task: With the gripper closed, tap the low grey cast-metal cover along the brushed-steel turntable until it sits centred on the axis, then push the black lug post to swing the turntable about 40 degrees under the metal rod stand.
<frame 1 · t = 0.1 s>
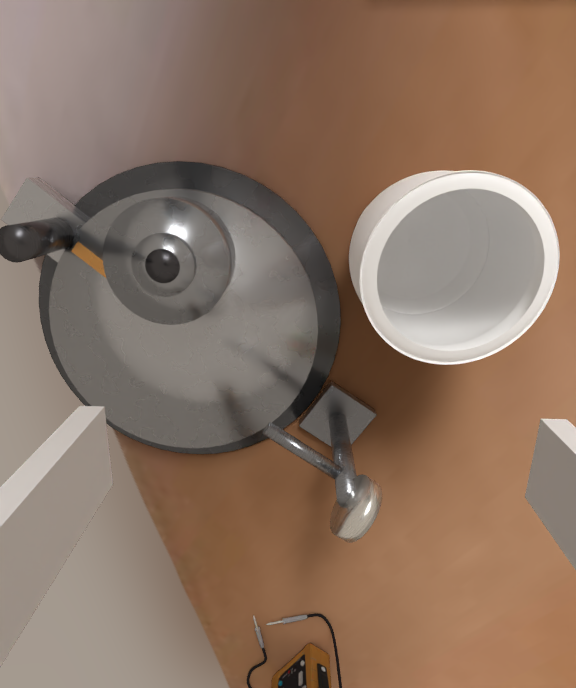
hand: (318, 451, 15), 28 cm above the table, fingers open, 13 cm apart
jar: (403, 239, 40), on the table
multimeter: (274, 646, 55), on the table
turntable base: (190, 320, 43), on the table
metal rod stand: (336, 415, 45), on the table
cover: (178, 256, 38), point 3 cm above the table, touching turntable
turntable: (160, 332, 38), point 5 cm above the table, hinge at 0.0°, touching cover
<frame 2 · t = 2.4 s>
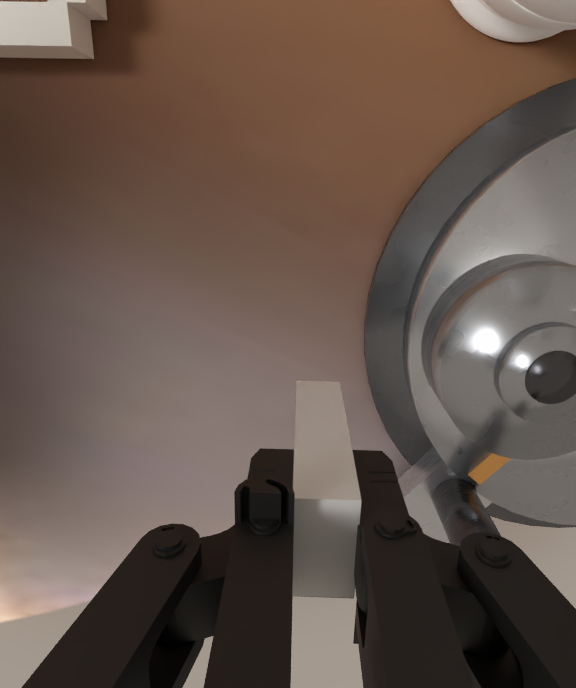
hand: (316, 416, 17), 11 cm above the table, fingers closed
cover: (510, 343, 25), point 3 cm above the table, touching turntable
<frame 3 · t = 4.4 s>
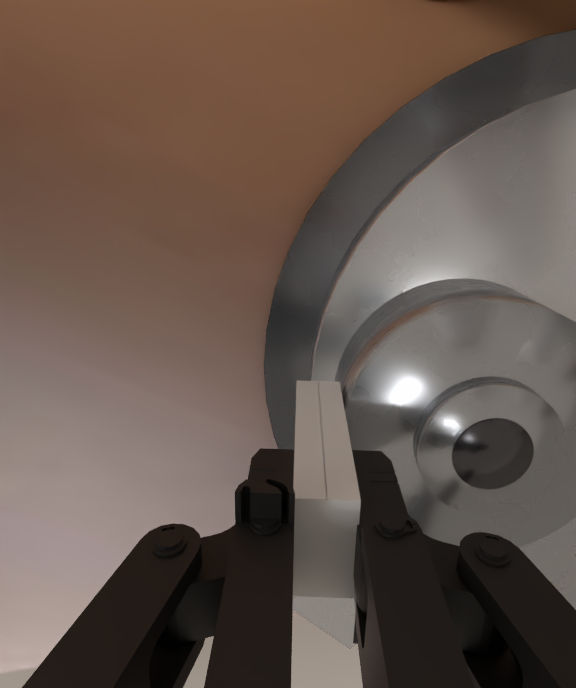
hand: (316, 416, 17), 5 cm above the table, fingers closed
turntable base: (560, 369, 22), on the table
cover: (449, 393, 19), point 3 cm above the table, touching gripper, turntable
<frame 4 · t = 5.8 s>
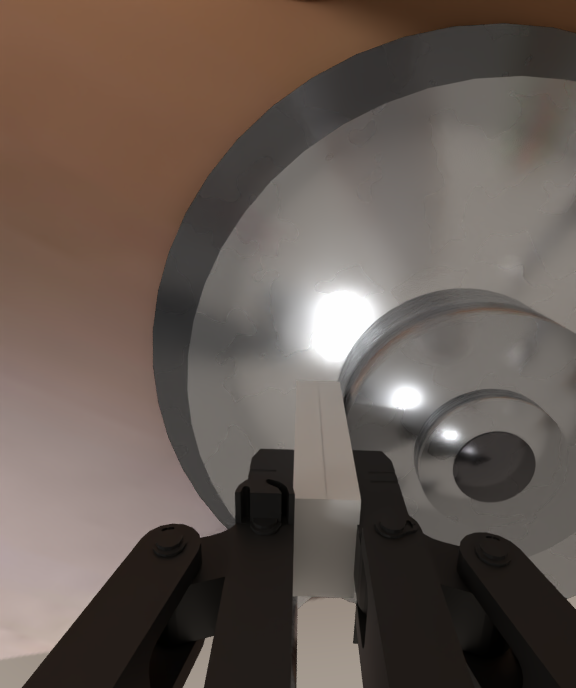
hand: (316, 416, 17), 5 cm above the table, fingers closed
turntable base: (452, 371, 21), on the table
cover: (451, 403, 19), point 3 cm above the table, touching turntable
turntable: (476, 456, 17), point 5 cm above the table, hinge at 0.0°, touching cover
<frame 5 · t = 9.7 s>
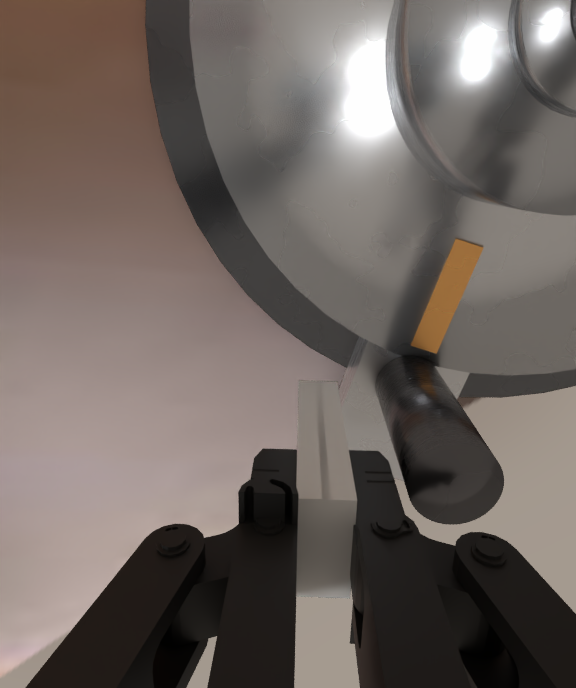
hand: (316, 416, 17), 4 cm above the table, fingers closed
turntable base: (522, 51, 17), on the table
cover: (536, 49, 15), point 3 cm above the table, touching turntable
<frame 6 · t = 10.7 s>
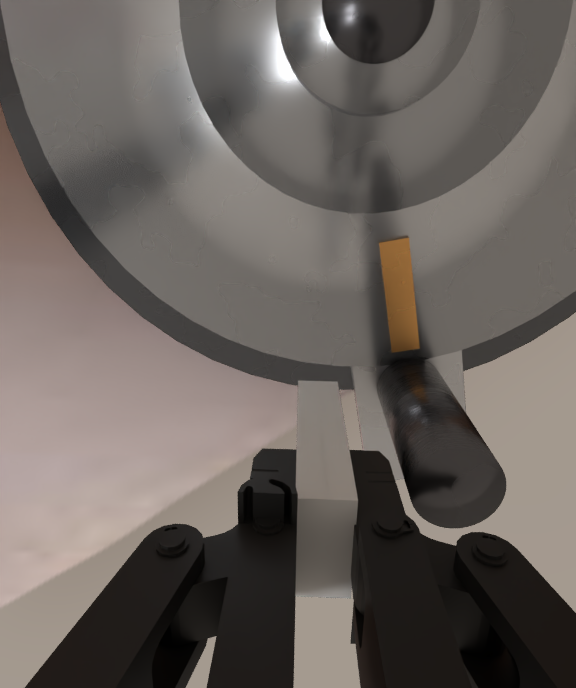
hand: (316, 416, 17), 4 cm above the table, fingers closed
turntable base: (360, 42, 17), on the table
cover: (357, 48, 15), point 3 cm above the table, touching turntable
turntable: (405, 46, 13), point 5 cm above the table, hinge at 30.9°, touching cover, gripper
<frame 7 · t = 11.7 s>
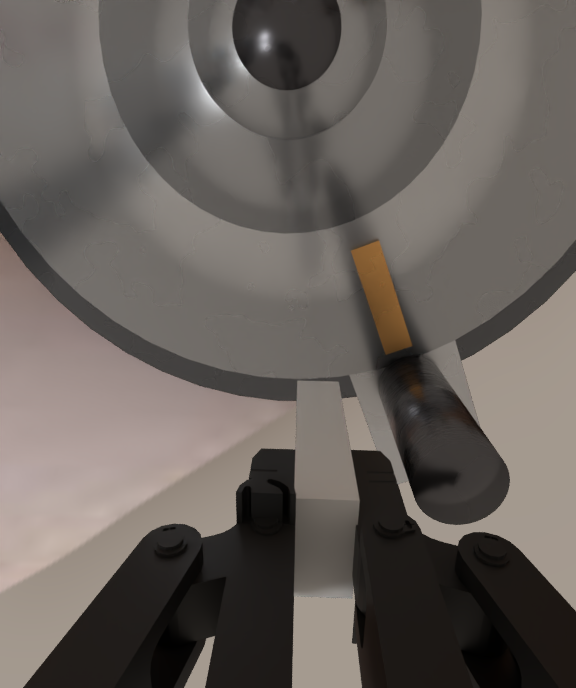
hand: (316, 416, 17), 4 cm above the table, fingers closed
turntable base: (298, 61, 17), on the table
cover: (291, 70, 15), point 3 cm above the table, touching turntable
turntable: (330, 61, 13), point 5 cm above the table, hinge at 41.8°, touching cover, gripper
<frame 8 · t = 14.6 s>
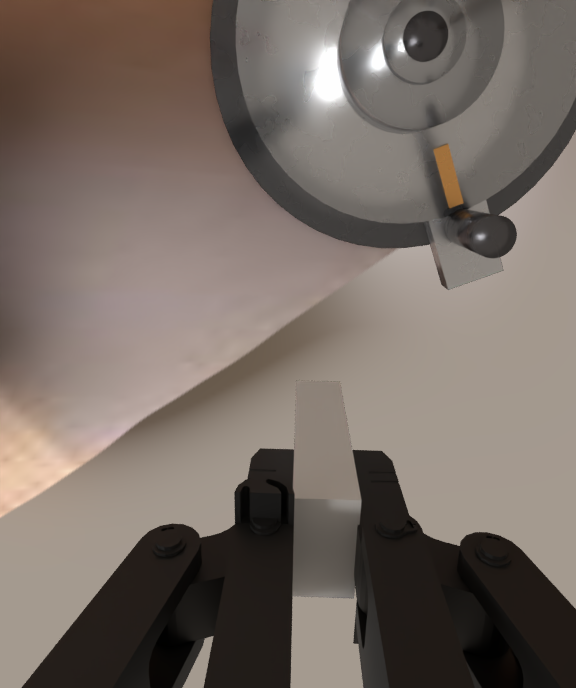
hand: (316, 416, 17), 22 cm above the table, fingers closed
turntable base: (403, 52, 33), on the table
cover: (408, 55, 31), point 3 cm above the table, touching turntable
turntable: (434, 50, 29), point 5 cm above the table, hinge at 41.8°, touching cover
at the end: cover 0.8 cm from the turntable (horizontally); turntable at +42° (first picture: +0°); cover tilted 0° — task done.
